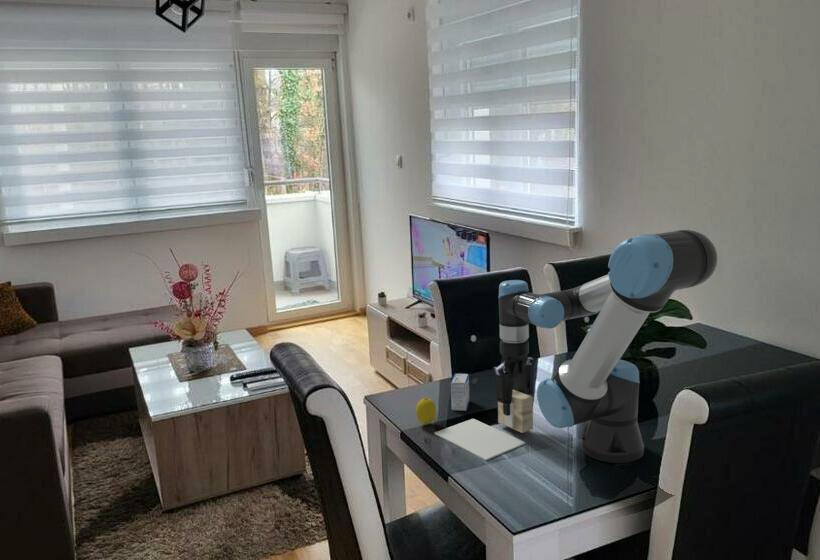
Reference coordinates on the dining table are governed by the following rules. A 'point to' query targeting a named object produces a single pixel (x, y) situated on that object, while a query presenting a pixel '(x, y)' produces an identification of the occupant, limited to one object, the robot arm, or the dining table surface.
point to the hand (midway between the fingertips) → (515, 423)
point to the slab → (519, 412)
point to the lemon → (426, 411)
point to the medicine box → (460, 392)
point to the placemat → (479, 439)
